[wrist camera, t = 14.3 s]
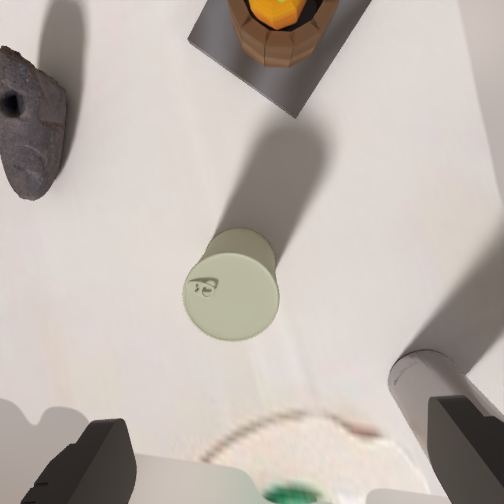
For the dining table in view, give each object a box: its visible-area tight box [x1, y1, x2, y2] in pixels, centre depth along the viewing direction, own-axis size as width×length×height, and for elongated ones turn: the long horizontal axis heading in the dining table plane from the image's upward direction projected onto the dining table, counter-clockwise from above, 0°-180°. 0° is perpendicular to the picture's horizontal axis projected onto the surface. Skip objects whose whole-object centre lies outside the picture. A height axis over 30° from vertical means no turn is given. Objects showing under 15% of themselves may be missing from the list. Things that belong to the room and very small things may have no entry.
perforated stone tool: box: [0, 46, 67, 201], centre depth 34 cm, size 15×5×7 cm, turn 166°
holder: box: [188, 0, 372, 119], centre depth 30 cm, size 14×14×7 cm
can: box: [183, 228, 280, 342], centre depth 35 cm, size 9×9×12 cm
